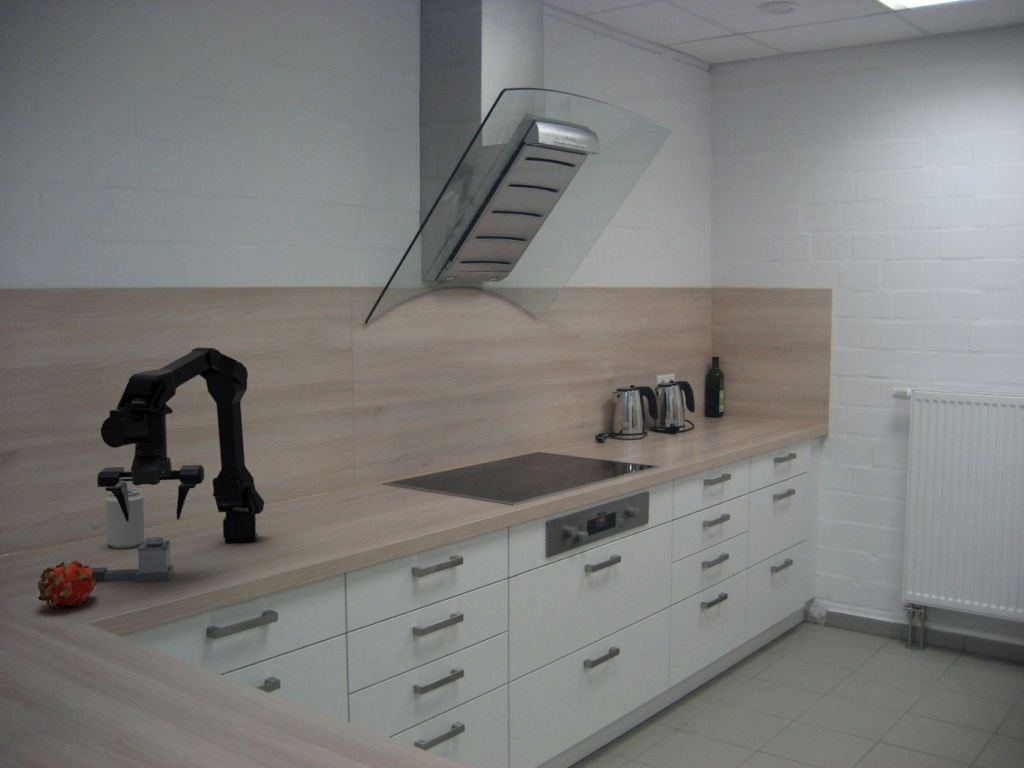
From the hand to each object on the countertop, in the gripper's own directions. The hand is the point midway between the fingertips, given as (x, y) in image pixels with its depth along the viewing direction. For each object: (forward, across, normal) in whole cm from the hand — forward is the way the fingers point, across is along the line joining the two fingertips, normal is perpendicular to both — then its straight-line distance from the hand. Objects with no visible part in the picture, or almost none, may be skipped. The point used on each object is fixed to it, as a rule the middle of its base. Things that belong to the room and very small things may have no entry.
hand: (153, 520), depth 193 cm
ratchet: (+11, -7, -1) cm, 13 cm away
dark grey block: (+10, 0, -1) cm, 10 cm away
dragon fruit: (+11, -12, -16) cm, 23 cm away
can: (+11, -10, +25) cm, 29 cm away
